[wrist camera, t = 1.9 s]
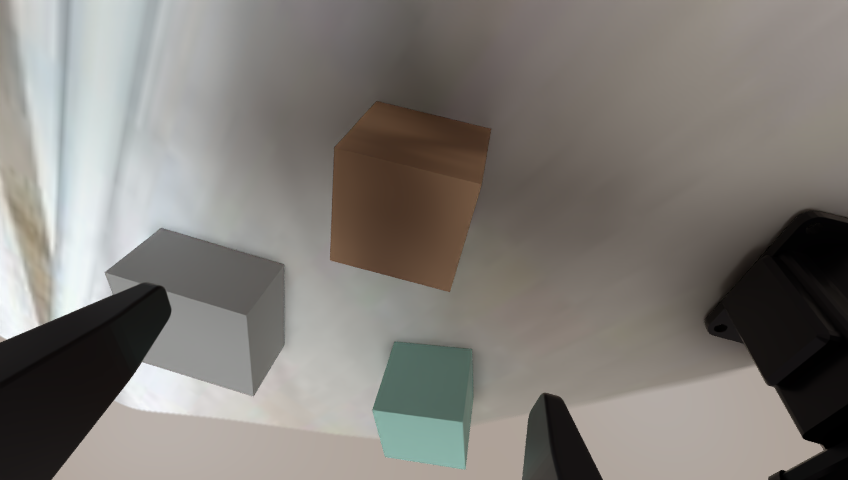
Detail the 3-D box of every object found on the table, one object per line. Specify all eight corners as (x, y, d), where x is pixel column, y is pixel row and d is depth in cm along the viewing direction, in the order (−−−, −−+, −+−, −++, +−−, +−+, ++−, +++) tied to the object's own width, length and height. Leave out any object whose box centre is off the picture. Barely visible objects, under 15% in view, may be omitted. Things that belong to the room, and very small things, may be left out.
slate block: (286, 261, 22) (246, 315, 19) (286, 341, 26) (253, 396, 23) (164, 225, 22) (104, 272, 19) (183, 310, 27) (137, 360, 23)
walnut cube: (491, 127, 16) (481, 184, 12) (464, 223, 18) (449, 291, 15) (377, 100, 16) (334, 147, 12) (367, 198, 18) (329, 260, 15)
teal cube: (472, 347, 23) (462, 422, 19) (473, 396, 26) (465, 469, 22) (395, 340, 24) (372, 410, 20) (403, 387, 26) (385, 456, 23)
